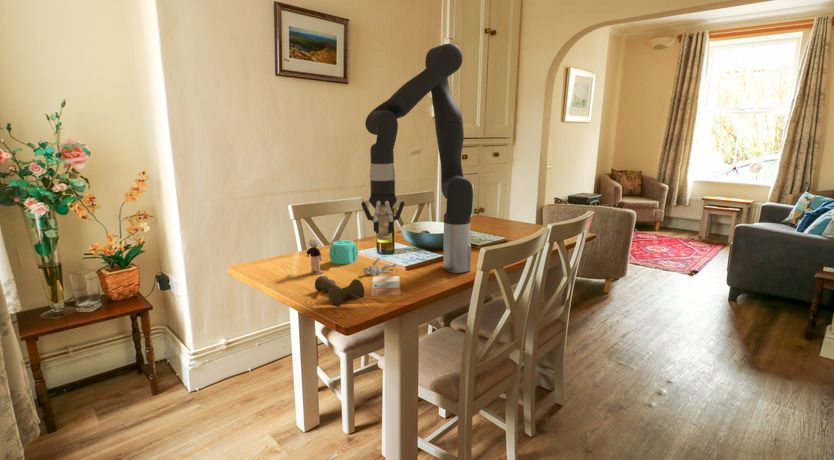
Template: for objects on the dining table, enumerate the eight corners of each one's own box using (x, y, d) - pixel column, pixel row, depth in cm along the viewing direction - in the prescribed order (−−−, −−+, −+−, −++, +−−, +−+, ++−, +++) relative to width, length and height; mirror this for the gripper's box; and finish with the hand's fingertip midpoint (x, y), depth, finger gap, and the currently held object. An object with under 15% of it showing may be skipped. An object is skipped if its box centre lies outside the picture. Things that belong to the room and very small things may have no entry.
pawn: (391, 236, 143) (390, 202, 140) (390, 239, 138) (390, 204, 136) (377, 236, 142) (376, 202, 140) (376, 240, 138) (375, 204, 136)
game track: (401, 278, 150) (401, 275, 150) (402, 297, 133) (402, 294, 133) (371, 279, 150) (371, 276, 150) (369, 298, 132) (368, 295, 132)
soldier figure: (400, 278, 154) (372, 274, 146) (392, 285, 156) (364, 282, 149) (395, 259, 158) (367, 254, 150) (387, 266, 160) (359, 262, 153)
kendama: (334, 288, 144) (373, 302, 130) (308, 296, 137) (346, 313, 123) (332, 270, 142) (371, 283, 128) (306, 278, 136) (344, 292, 122)
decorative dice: (348, 267, 164) (347, 245, 162) (329, 265, 166) (328, 244, 164) (358, 261, 171) (357, 240, 169) (340, 259, 174) (339, 239, 172)
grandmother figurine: (327, 272, 158) (325, 237, 155) (321, 275, 154) (319, 240, 151) (310, 269, 161) (308, 235, 158) (303, 272, 157) (300, 238, 154)
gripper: (405, 176, 140) (406, 230, 144) (360, 177, 140) (362, 230, 143) (405, 179, 133) (406, 235, 137) (358, 179, 132) (360, 236, 136)
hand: (383, 232), depth 140 cm, fingers closed on pawn, 3 cm apart
